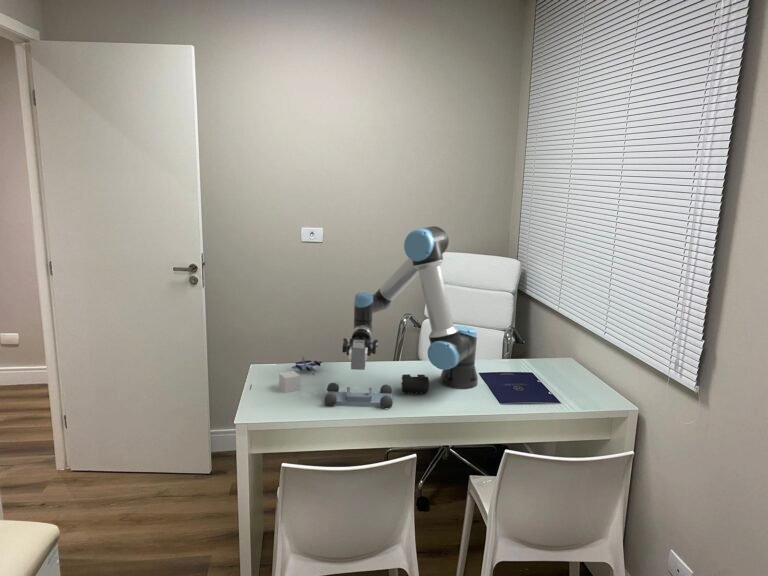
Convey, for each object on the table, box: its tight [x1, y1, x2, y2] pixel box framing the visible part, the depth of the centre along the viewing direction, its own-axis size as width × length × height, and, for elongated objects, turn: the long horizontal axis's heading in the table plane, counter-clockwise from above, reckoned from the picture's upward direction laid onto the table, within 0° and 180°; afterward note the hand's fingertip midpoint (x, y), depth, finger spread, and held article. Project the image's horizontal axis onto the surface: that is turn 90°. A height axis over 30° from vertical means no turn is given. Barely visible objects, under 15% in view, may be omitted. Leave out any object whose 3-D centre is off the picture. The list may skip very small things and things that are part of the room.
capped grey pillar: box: [350, 340, 366, 371], centre depth 212 cm, size 5×5×10 cm
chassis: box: [323, 382, 393, 409], centre depth 212 cm, size 24×12×4 cm, turn 90°
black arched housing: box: [400, 374, 430, 394], centre depth 221 cm, size 10×7×7 cm
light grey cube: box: [278, 370, 301, 394], centre depth 220 cm, size 6×6×6 cm
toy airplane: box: [291, 355, 323, 376], centre depth 239 cm, size 13×14×4 cm
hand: (357, 356), depth 206 cm, fingers closed on capped grey pillar, 5 cm apart
